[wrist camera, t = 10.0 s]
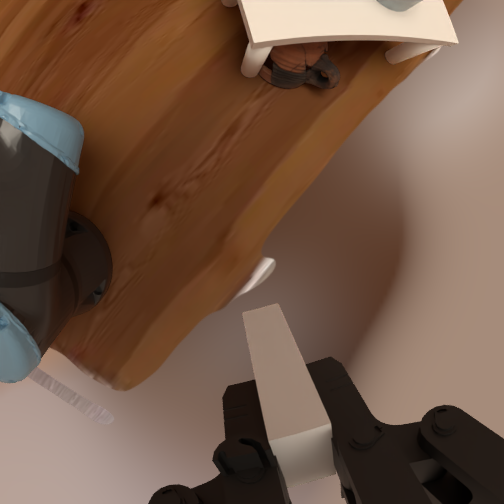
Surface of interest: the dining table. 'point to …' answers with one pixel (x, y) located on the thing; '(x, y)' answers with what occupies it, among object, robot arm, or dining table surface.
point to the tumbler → (399, 4)
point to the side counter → (341, 26)
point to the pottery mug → (301, 66)
